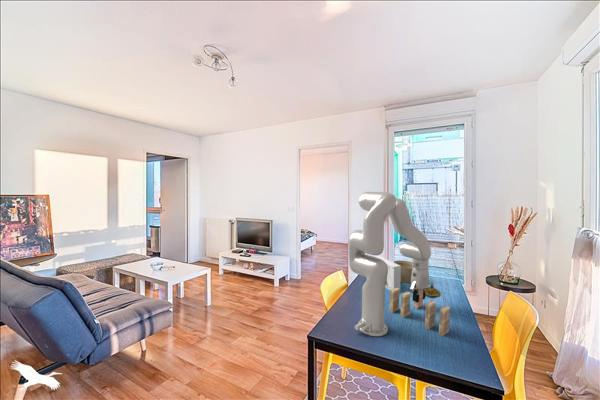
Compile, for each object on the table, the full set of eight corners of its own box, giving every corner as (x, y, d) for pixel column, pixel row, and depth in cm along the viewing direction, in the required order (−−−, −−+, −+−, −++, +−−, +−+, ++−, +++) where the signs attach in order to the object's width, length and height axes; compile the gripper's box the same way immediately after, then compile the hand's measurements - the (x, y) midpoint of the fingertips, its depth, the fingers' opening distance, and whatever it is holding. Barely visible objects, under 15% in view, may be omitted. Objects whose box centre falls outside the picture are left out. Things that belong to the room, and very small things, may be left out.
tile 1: (409, 314, 125) (410, 292, 125) (403, 317, 123) (404, 295, 122) (406, 313, 127) (407, 291, 126) (400, 316, 124) (401, 294, 123)
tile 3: (434, 325, 116) (435, 302, 115) (428, 329, 113) (429, 305, 112) (430, 324, 117) (431, 300, 117) (424, 327, 114) (425, 303, 114)
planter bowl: (405, 286, 160) (406, 269, 159) (387, 277, 174) (387, 262, 174) (424, 282, 166) (425, 266, 166) (404, 274, 181) (405, 259, 180)
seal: (440, 302, 142) (439, 291, 155) (441, 294, 142) (441, 284, 155) (421, 296, 146) (422, 287, 160) (422, 288, 146) (424, 279, 159)
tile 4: (448, 332, 111) (449, 307, 110) (443, 336, 108) (444, 310, 107) (444, 330, 112) (445, 305, 112) (438, 334, 109) (439, 309, 109)
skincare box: (372, 280, 171) (373, 256, 170) (379, 279, 172) (380, 255, 171) (393, 293, 151) (393, 266, 150) (400, 291, 152) (401, 265, 151)
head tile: (398, 309, 130) (399, 288, 130) (392, 312, 127) (393, 291, 127) (395, 308, 132) (396, 287, 131) (389, 311, 129) (390, 289, 128)
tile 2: (422, 305, 134) (423, 284, 134) (417, 308, 131) (418, 287, 131) (419, 304, 136) (420, 283, 135) (414, 306, 133) (414, 285, 132)
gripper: (418, 270, 124) (416, 307, 125) (435, 264, 134) (434, 298, 135) (404, 266, 130) (402, 301, 131) (421, 260, 140) (420, 293, 141)
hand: (418, 299), depth 133 cm, fingers closed on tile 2, 4 cm apart
